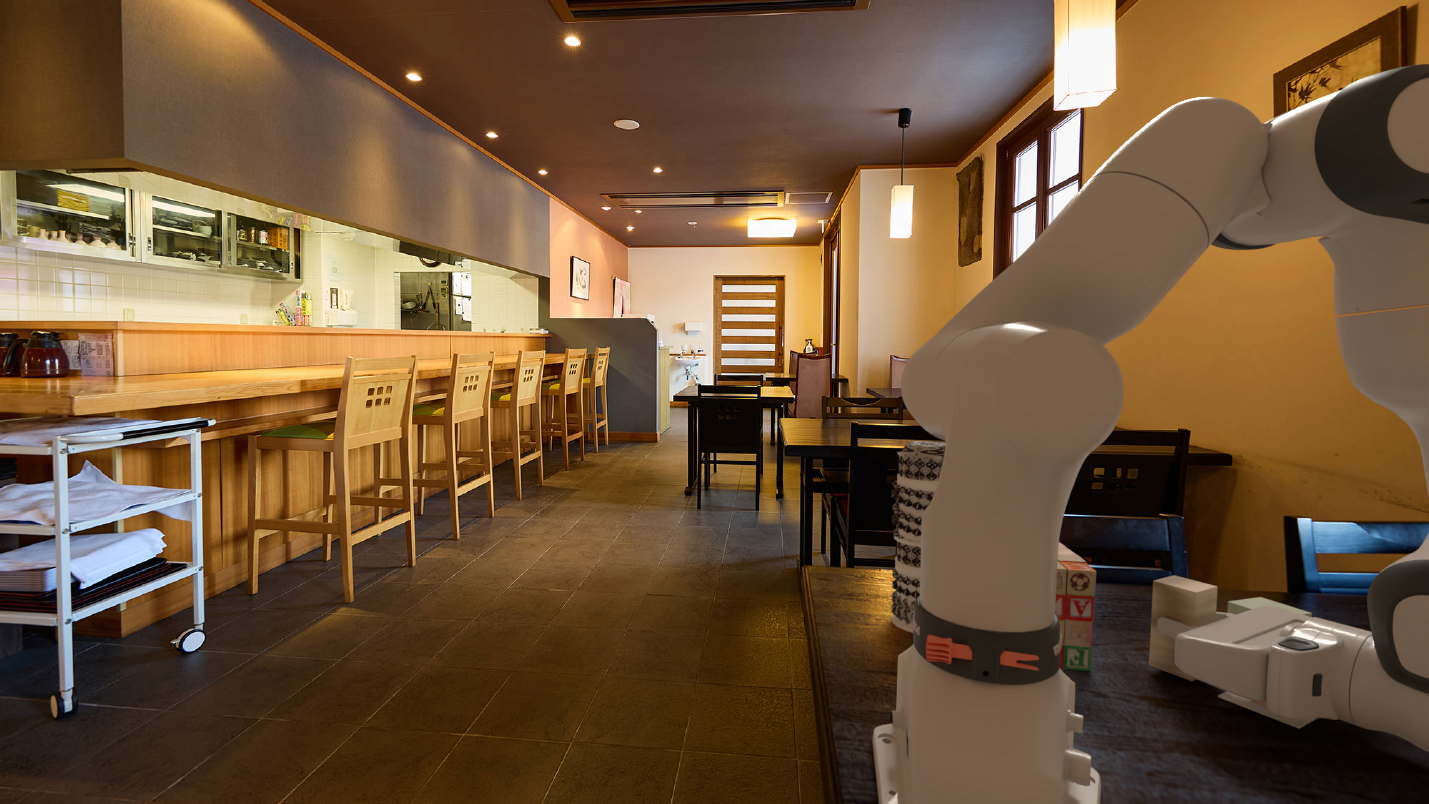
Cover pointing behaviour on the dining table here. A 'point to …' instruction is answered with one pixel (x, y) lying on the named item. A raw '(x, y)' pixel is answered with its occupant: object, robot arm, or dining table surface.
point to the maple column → (1178, 616)
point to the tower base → (1253, 603)
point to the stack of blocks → (1075, 609)
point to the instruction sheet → (1263, 709)
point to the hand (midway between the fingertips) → (1174, 618)
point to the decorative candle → (912, 522)
